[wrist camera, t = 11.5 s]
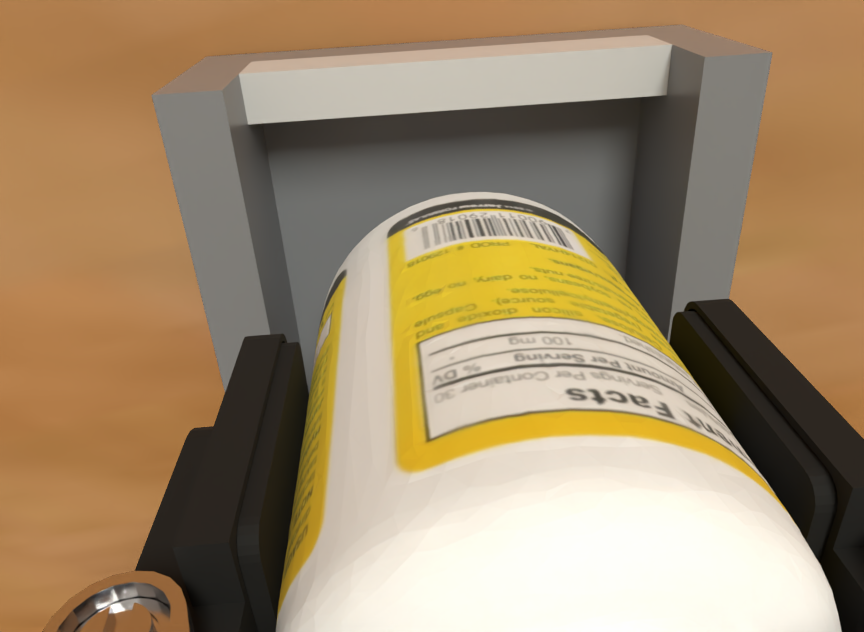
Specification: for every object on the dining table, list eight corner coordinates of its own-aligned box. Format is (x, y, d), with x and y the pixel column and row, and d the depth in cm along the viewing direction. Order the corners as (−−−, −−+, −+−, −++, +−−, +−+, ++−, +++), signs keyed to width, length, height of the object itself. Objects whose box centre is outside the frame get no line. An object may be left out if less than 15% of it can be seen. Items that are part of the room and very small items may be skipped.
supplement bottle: (450, 483, 14) (543, 1282, 6) (259, 314, 12) (-35, 1200, 4) (673, 336, 13) (1227, 1116, 4) (502, 113, 11) (950, 813, 2)
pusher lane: (206, 56, 13) (46, 168, 7) (681, 24, 13) (942, 104, 7) (336, 697, 23) (320, 980, 17) (607, 672, 23) (689, 941, 17)
